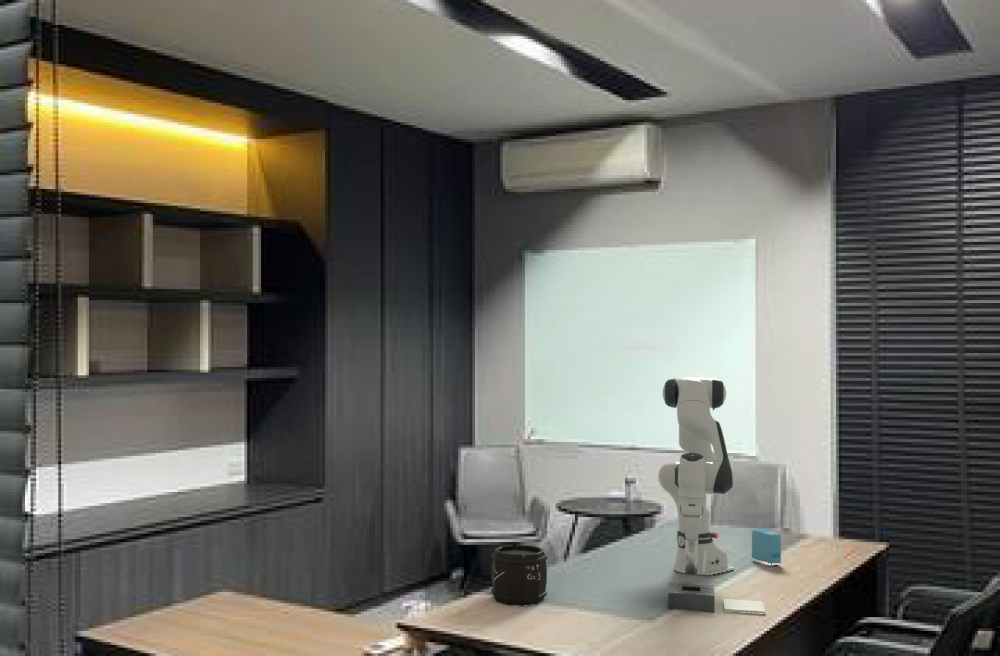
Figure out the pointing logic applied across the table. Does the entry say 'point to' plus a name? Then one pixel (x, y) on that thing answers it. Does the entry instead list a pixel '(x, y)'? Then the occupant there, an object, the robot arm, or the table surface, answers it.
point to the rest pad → (743, 606)
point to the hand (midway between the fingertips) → (691, 549)
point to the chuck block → (691, 597)
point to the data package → (766, 546)
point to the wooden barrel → (519, 575)
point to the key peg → (691, 559)
